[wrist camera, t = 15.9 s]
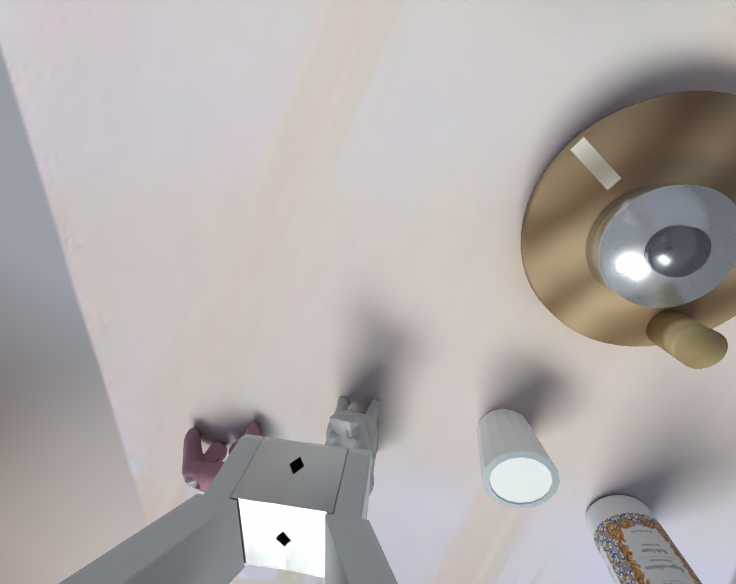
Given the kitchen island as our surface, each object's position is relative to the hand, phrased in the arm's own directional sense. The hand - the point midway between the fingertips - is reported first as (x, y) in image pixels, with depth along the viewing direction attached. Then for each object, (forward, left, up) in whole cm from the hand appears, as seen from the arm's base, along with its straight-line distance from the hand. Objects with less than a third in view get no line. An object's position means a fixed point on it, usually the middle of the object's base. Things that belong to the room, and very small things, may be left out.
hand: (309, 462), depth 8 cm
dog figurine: (+21, +2, -28) cm, 35 cm away
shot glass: (+17, +18, -28) cm, 37 cm away
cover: (-6, +20, -24) cm, 32 cm away
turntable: (-7, +21, -26) cm, 34 cm away
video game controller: (+30, -13, -28) cm, 43 cm away
